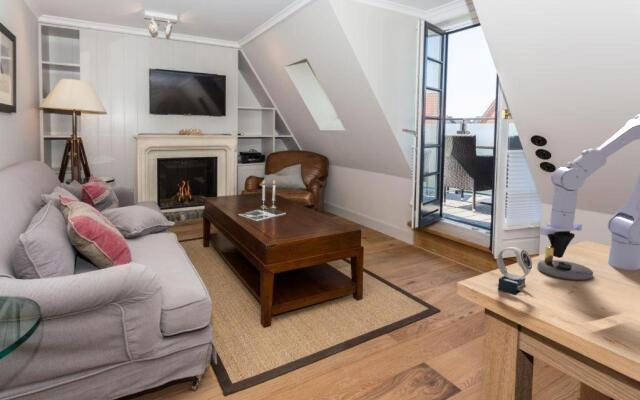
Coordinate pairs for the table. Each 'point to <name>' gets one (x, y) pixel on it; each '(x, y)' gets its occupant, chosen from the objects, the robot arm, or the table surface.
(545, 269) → the handwheel
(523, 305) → the table surface
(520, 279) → the watch
